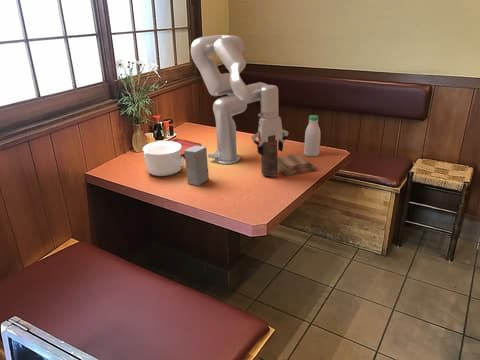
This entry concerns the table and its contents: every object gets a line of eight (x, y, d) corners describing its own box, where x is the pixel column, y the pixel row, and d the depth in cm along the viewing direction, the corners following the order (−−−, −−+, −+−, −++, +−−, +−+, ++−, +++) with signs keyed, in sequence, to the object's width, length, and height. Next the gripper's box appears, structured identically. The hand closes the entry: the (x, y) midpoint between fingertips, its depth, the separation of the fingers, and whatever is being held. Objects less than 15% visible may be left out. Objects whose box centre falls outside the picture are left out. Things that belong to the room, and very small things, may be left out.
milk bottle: (319, 157, 207) (321, 118, 198) (303, 156, 208) (305, 118, 200) (319, 151, 214) (321, 114, 205) (304, 151, 215) (306, 113, 207)
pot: (134, 174, 194) (130, 150, 189) (157, 161, 208) (154, 138, 203) (173, 182, 185) (170, 157, 180) (194, 168, 199) (192, 144, 194)
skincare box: (198, 186, 180) (196, 152, 174) (185, 183, 184) (182, 150, 177) (210, 179, 187) (207, 146, 180) (197, 176, 190) (194, 143, 184)
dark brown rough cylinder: (266, 179, 185) (266, 137, 177) (258, 173, 191) (257, 132, 182) (280, 175, 188) (281, 134, 180) (272, 170, 194) (272, 129, 186)
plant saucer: (202, 149, 223) (202, 143, 222) (181, 160, 209) (180, 154, 208) (177, 143, 232) (176, 137, 231) (154, 154, 218) (154, 148, 217)
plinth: (284, 176, 188) (285, 169, 186) (270, 163, 202) (270, 156, 200) (316, 170, 193) (316, 163, 191) (300, 158, 206) (300, 151, 205)
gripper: (254, 119, 172) (255, 158, 179) (291, 114, 177) (291, 151, 184) (247, 115, 178) (249, 152, 185) (284, 110, 183) (284, 146, 190)
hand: (270, 152), depth 184 cm, fingers open, 9 cm apart
